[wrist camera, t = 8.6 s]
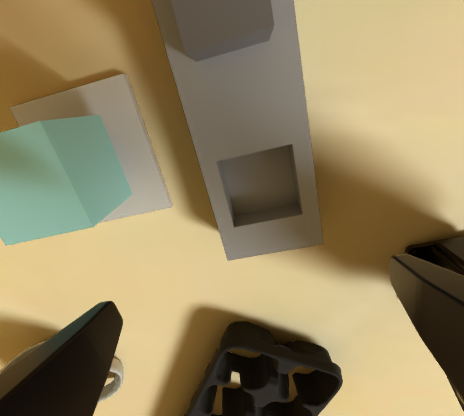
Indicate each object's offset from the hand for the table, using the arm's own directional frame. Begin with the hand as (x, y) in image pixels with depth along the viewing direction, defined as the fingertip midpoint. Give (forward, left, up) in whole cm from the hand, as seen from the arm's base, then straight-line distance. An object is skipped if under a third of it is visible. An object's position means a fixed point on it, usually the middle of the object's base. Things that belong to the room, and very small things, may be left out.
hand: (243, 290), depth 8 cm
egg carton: (-29, +7, -14) cm, 33 cm away
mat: (+4, +11, -13) cm, 17 cm away
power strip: (+5, -1, -13) cm, 14 cm away
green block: (+4, +11, -12) cm, 17 cm away
